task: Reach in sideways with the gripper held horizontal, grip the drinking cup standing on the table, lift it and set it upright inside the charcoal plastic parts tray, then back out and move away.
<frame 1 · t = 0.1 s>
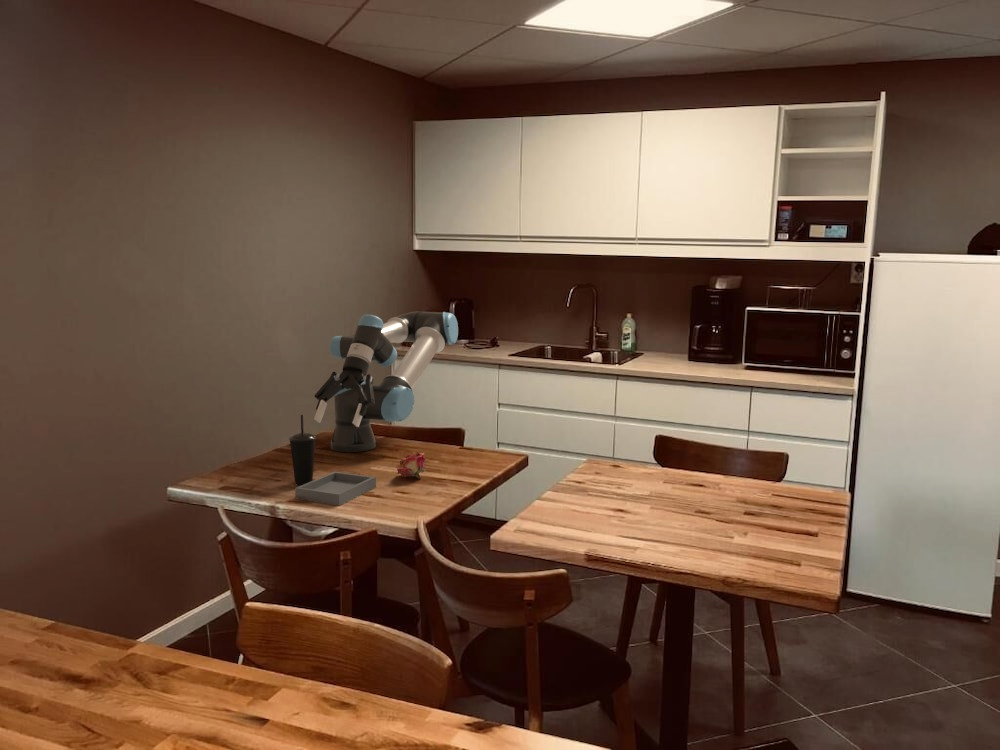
hand: (336, 423, 237), 15 cm above the table, tool tilted 35°, fingers open, 13 cm apart
drinking cup: (304, 483, 229), on the table
flower: (411, 478, 235), on the table
parts tray: (336, 492, 219), on the table
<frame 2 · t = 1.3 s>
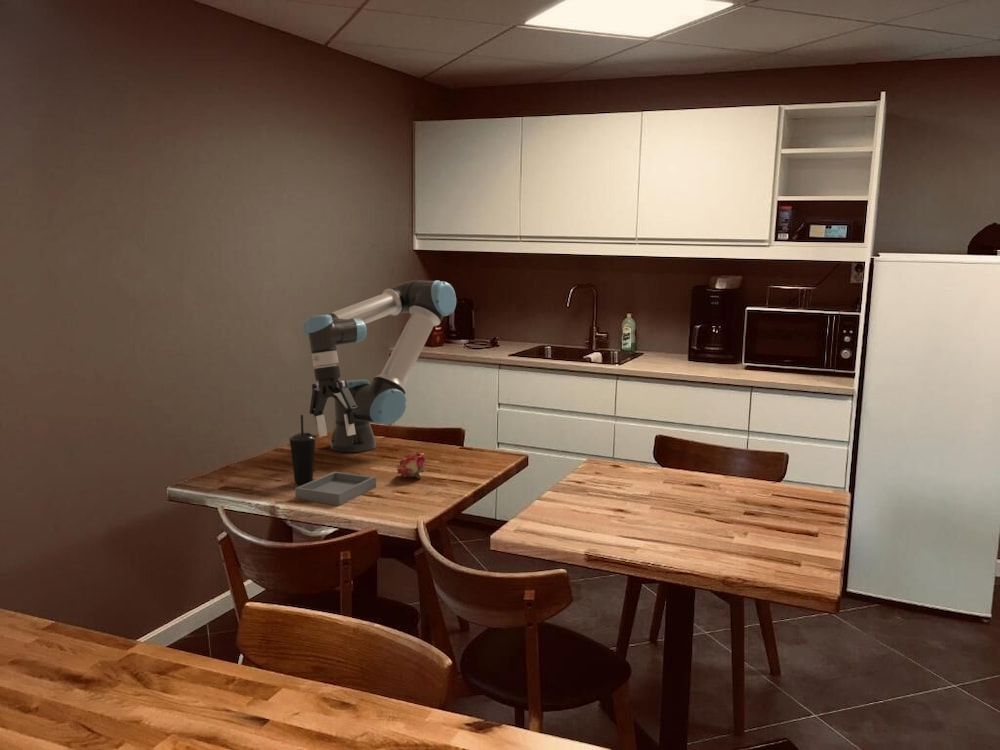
hand: (337, 435, 241), 11 cm above the table, tool pointing down, fingers open, 13 cm apart
nothing on the table moved.
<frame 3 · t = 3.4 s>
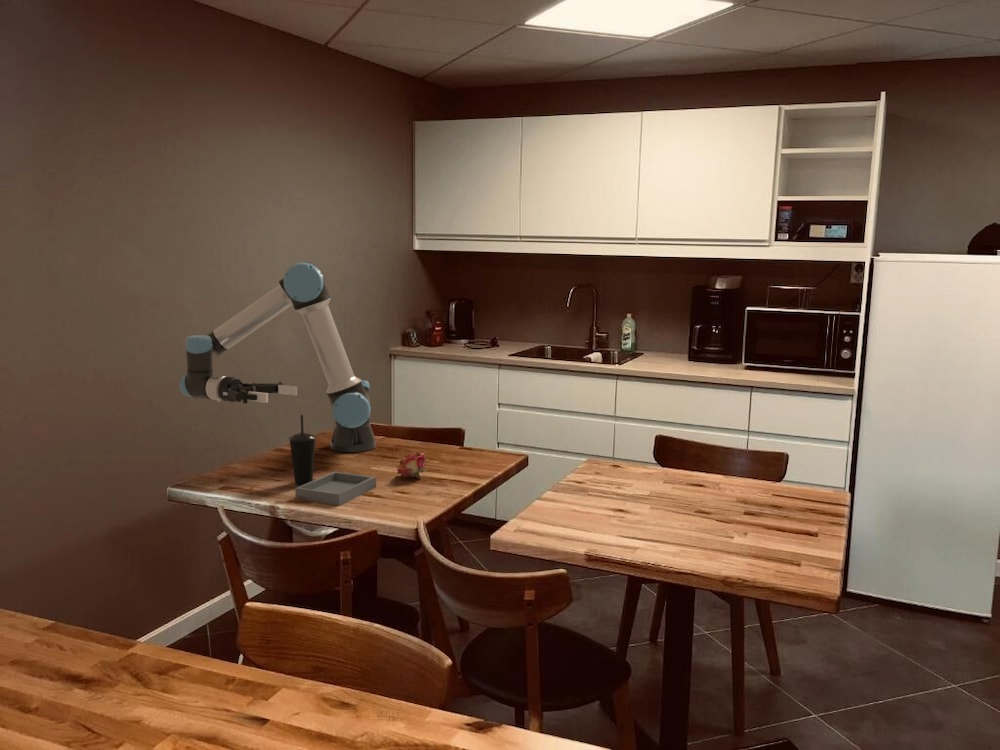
hand: (282, 394, 235), 24 cm above the table, tool horizontal, fingers open, 13 cm apart
nothing on the table moved.
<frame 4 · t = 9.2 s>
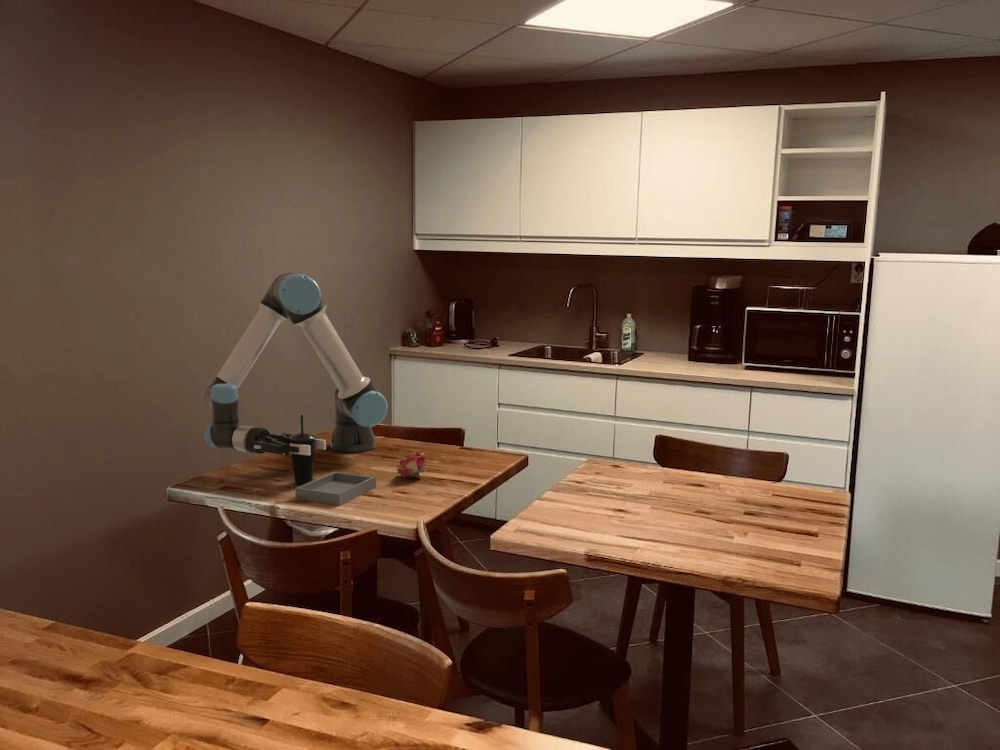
hand: (317, 447, 225), 11 cm above the table, tool horizontal, fingers closed on drinking cup, 6 cm apart
drinking cup: (304, 483, 229), on the table, touching gripper
everything else where it was.
when the fingers open (13 cm above the table, at t = 13.8 s): drinking cup moves 4 cm, resting on parts tray.
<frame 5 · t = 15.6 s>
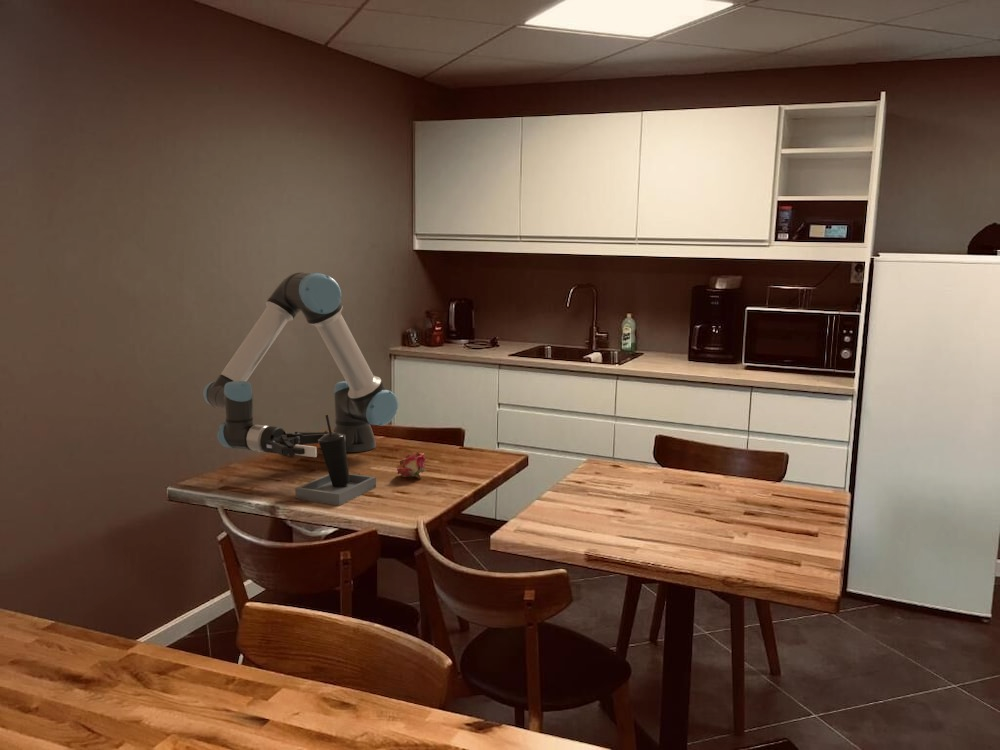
hand: (330, 446, 218), 13 cm above the table, tool horizontal, fingers open, 13 cm apart
drinking cup: (341, 484, 223), point 1 cm above the table, touching gripper, parts tray
everything else where it was.
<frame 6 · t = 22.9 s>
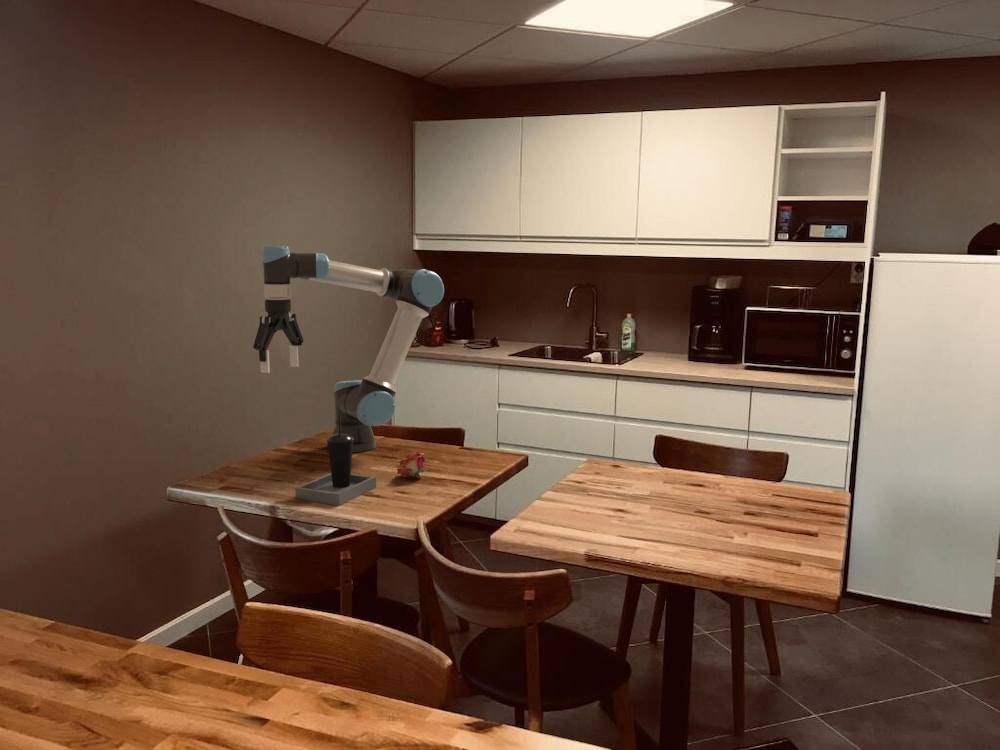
hand: (280, 369, 239), 31 cm above the table, tool pointing down, fingers open, 13 cm apart
drinking cup: (341, 485, 223), point 1 cm above the table, touching parts tray
everything else where it was.
at the end: drinking cup inside the target area on the parts tray (3.9 cm from its centre), point 0.8 cm above the parts tray's base; drinking cup tilted 1°; the gripper is holding nothing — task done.
